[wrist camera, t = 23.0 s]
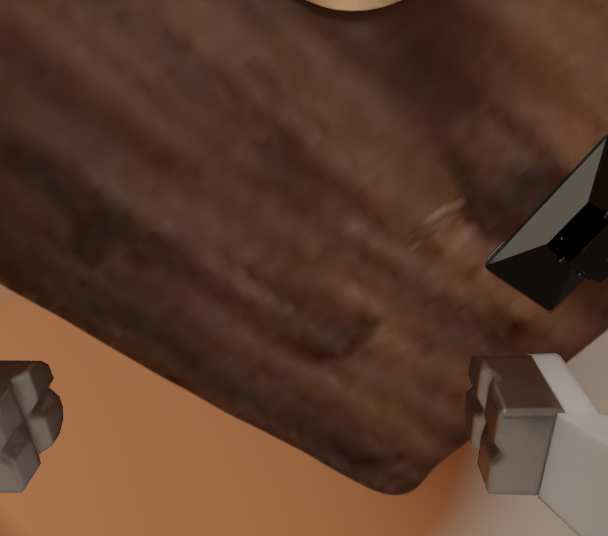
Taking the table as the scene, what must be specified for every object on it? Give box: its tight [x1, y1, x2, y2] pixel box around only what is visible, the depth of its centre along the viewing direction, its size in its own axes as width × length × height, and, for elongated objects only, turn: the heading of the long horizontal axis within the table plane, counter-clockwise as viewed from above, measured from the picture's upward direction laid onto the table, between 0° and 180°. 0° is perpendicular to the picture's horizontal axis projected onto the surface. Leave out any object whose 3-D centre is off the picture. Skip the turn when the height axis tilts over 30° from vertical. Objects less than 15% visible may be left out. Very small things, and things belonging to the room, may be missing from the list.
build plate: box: [486, 135, 608, 310], centre depth 37 cm, size 12×7×5 cm, turn 147°
